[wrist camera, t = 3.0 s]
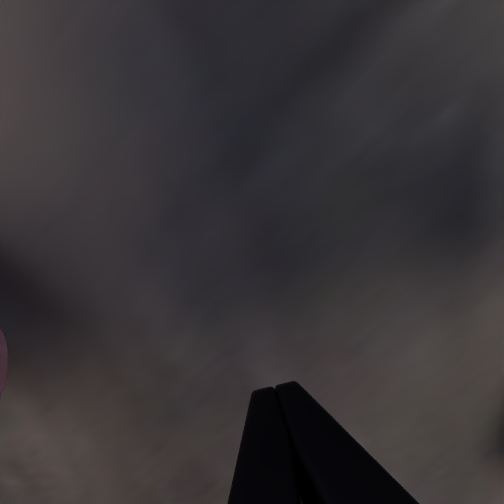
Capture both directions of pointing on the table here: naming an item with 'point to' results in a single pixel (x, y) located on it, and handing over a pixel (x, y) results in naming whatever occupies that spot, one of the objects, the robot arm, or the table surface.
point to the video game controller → (3, 361)
